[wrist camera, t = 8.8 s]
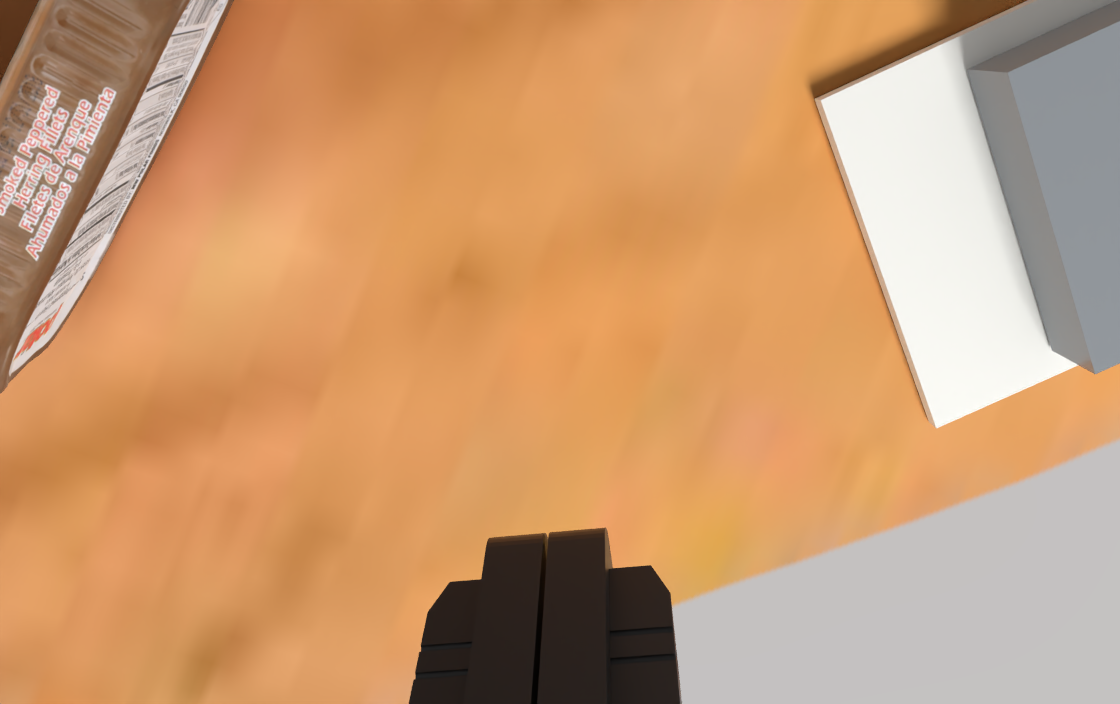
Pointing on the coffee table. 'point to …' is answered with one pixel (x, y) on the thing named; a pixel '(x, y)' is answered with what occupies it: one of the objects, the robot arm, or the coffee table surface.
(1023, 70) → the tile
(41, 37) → the tin
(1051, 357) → the mat
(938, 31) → the coffee table surface
